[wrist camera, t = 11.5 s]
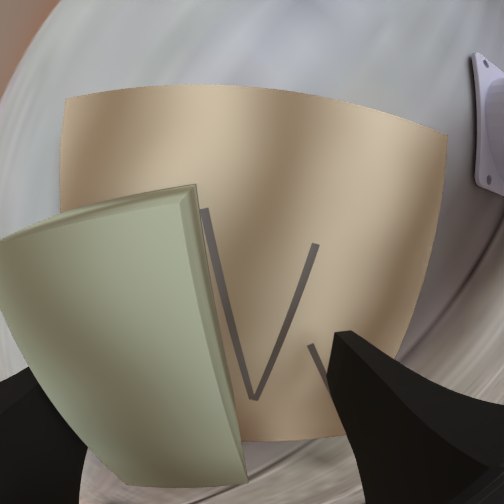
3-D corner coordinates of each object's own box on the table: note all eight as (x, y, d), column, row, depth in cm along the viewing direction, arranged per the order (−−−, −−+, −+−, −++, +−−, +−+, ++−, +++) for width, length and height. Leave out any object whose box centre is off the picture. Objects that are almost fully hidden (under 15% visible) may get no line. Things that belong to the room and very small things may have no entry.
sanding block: (196, 183, 8) (179, 202, 4) (232, 389, 11) (248, 482, 7) (75, 207, 8) (-19, 249, 3) (140, 397, 11) (126, 484, 6)
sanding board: (427, 136, 9) (448, 135, 8) (348, 417, 15) (354, 433, 13) (84, 104, 9) (65, 98, 7) (118, 405, 14) (112, 422, 12)
